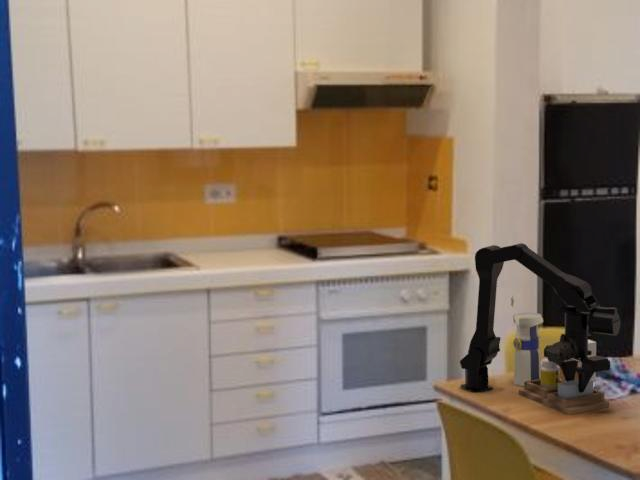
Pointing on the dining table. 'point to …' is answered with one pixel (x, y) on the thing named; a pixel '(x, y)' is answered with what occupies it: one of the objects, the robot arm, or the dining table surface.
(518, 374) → the water bottle
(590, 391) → the blue-gray rectangular block
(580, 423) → the dining table surface
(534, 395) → the jig
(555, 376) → the supplement bottle
